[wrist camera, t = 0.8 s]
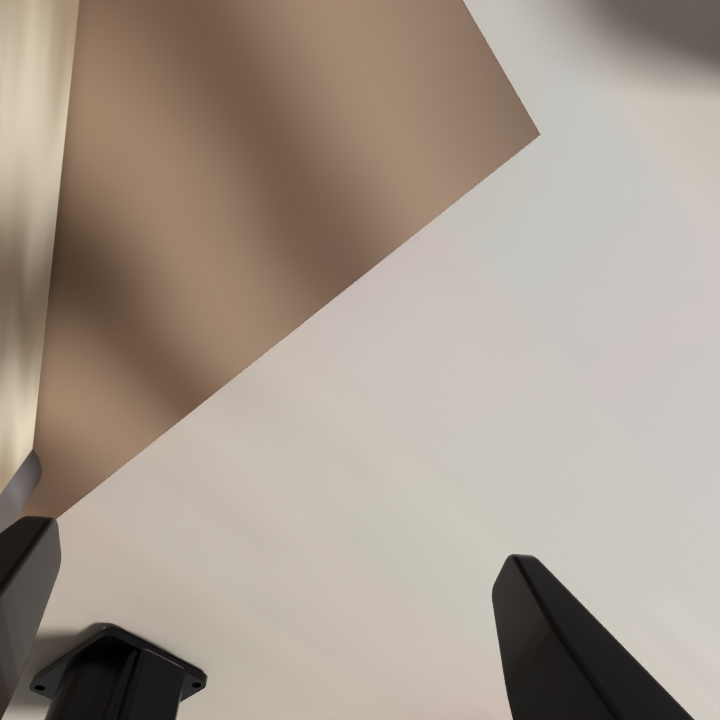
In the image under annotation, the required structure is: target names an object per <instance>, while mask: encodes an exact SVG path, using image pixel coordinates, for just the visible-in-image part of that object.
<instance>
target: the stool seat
mask: <svg viewBox="0 0 720 720" xmlns="http://www.w3.org/2000/svg"><path fill="white" fill-rule="evenodd" d="M539 135H540V133H539V131H538V130H537V128H536V126H535V124H534V123H533V121H532V119H531V118H530V116H529V114H528V112H527V111H526V109H525V107H524V105H523V104H522V102H521V100H520V99H519V97H518V95H517V93H516V92H515V90H514V88H513V86H512V85H511V83H510V81H509V80H508V78H507V76H506V74H505V73H504V71H503V69H502V67H501V66H500V64H499V62H498V60H497V59H496V57H495V55H494V54H493V52H492V50H491V48H490V47H489V45H488V43H487V41H486V40H485V38H484V36H483V35H482V33H481V31H480V29H479V28H478V26H477V24H476V22H475V21H474V19H473V17H472V16H471V14H470V12H469V10H468V9H467V7H466V5H465V3H464V2H463V0H79V8H78V18H77V27H76V37H75V46H74V56H73V65H72V75H71V85H70V94H69V104H68V113H67V123H66V133H65V142H64V152H63V161H62V171H61V180H60V190H59V200H58V209H57V219H56V228H55V238H54V248H53V257H52V267H51V276H50V286H49V295H48V305H47V315H46V324H45V334H44V343H43V353H42V362H41V372H40V382H39V391H38V401H37V410H36V420H35V430H34V439H33V450H34V452H35V453H36V454H37V456H38V458H39V460H40V463H41V468H42V474H41V479H40V481H39V483H38V484H37V486H36V488H35V489H34V491H33V492H32V494H31V495H30V497H29V499H28V500H27V502H26V503H25V505H24V506H23V508H22V509H21V511H20V513H19V514H18V516H17V517H16V519H15V520H14V522H15V521H17V520H18V519H20V518H22V517H24V516H28V515H32V516H45V517H52V518H55V519H57V518H58V517H59V516H60V515H62V514H63V513H64V512H66V511H67V510H68V509H69V508H71V507H72V506H73V505H74V504H76V503H77V502H78V501H79V500H81V499H82V498H83V497H84V496H86V495H87V494H88V493H89V492H91V491H92V490H93V489H95V488H96V487H97V486H98V485H100V484H101V483H102V482H103V481H105V480H106V479H107V478H108V477H110V476H111V475H112V474H113V473H115V472H116V471H117V470H118V469H120V468H121V467H122V466H123V465H125V464H126V463H127V462H129V461H130V460H131V459H132V458H134V457H135V456H136V455H137V454H139V453H140V452H141V451H142V450H144V449H145V448H146V447H147V446H149V445H150V444H151V443H152V442H154V441H155V440H156V439H158V438H159V437H160V436H161V435H163V434H164V433H165V432H166V431H168V430H169V429H170V428H171V427H173V426H174V425H175V424H176V423H178V422H179V421H180V420H181V419H183V418H184V417H185V416H186V415H188V414H189V413H190V412H192V411H193V410H194V409H195V408H197V407H198V406H199V405H200V404H202V403H203V402H204V401H205V400H207V399H208V398H209V397H210V396H212V395H213V394H214V393H215V392H217V391H218V390H219V389H220V388H222V387H223V386H224V385H226V384H227V383H228V382H229V381H231V380H232V379H233V378H234V377H236V376H237V375H238V374H239V373H241V372H242V371H243V370H244V369H246V368H247V367H248V366H249V365H251V364H252V363H253V362H255V361H256V360H257V359H258V358H260V357H261V356H262V355H263V354H265V353H266V352H267V351H268V350H270V349H271V348H272V347H273V346H275V345H276V344H277V343H278V342H280V341H281V340H282V339H283V338H285V337H286V336H287V335H289V334H290V333H291V332H292V331H294V330H295V329H296V328H297V327H299V326H300V325H301V324H302V323H304V322H305V321H306V320H307V319H309V318H310V317H311V316H312V315H314V314H315V313H316V312H318V311H319V310H320V309H321V308H323V307H324V306H325V305H326V304H328V303H329V302H330V301H331V300H333V299H334V298H335V297H336V296H338V295H339V294H340V293H341V292H343V291H344V290H345V289H346V288H348V287H349V286H350V285H352V284H353V283H354V282H355V281H357V280H358V279H359V278H360V277H362V276H363V275H364V274H365V273H367V272H368V271H369V270H370V269H372V268H373V267H374V266H375V265H377V264H378V263H379V262H381V261H382V260H383V259H384V258H386V257H387V256H388V255H389V254H391V253H392V252H393V251H394V250H396V249H397V248H398V247H399V246H401V245H402V244H403V243H404V242H406V241H407V240H408V239H409V238H411V237H412V236H413V235H415V234H416V233H417V232H418V231H420V230H421V229H422V228H423V227H425V226H426V225H427V224H428V223H430V222H431V221H432V220H433V219H435V218H436V217H437V216H438V215H440V214H441V213H442V212H443V211H445V210H446V209H447V208H449V207H450V206H451V205H452V204H454V203H455V202H456V201H457V200H459V199H460V198H461V197H462V196H464V195H465V194H466V193H467V192H469V191H470V190H471V189H472V188H474V187H475V186H476V185H478V184H479V183H480V182H481V181H483V180H484V179H485V178H486V177H488V176H489V175H490V174H491V173H493V172H494V171H495V170H496V169H498V168H499V167H500V166H501V165H503V164H504V163H505V162H506V161H508V160H509V159H510V158H512V157H513V156H514V155H515V154H517V153H518V152H519V151H520V150H522V149H523V148H524V147H525V146H527V145H528V144H529V143H530V142H532V141H533V140H534V139H535V138H537V137H538V136H539ZM14 522H13V523H14Z"/></svg>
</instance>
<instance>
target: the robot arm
mask: <svg viewBox="0 0 720 720" xmlns="http://www.w3.org/2000/svg"><path fill="white" fill-rule="evenodd" d="M60 564H61V548H60V539H59V530H58V523H57V521H56V519H55V518H52V517H45V516H32V515H28V516H24V517H22V518H20V519H18V520H17V521H15V522H14V523H13V524H11V525H10V526H9V527H7V528H6V529H4V530H3V531H2V532H0V720H1V719H2V717H3V715H4V713H5V711H6V709H7V706H8V704H9V702H10V700H11V698H12V696H13V693H14V691H15V689H16V687H17V685H18V682H19V680H20V677H21V675H22V672H23V669H24V667H25V664H26V661H27V659H28V656H29V653H30V650H31V647H32V645H33V642H34V639H35V636H36V633H37V631H38V628H39V625H40V622H41V620H42V617H43V614H44V611H45V608H46V606H47V603H48V600H49V597H50V594H51V592H52V589H53V586H54V583H55V581H56V578H57V575H58V572H59V568H60ZM492 602H493V609H494V615H495V622H496V628H497V635H498V641H499V647H500V654H501V660H502V667H503V673H504V679H505V685H506V691H507V696H508V701H509V705H510V709H511V713H512V717H513V720H694V719H693V718H692V717H691V716H690V715H689V714H688V712H687V711H686V710H685V709H684V708H683V707H682V706H681V705H680V704H679V703H678V702H677V701H676V700H675V699H674V698H673V697H672V696H671V695H670V694H669V693H668V692H667V691H666V690H665V689H664V688H663V687H662V686H661V685H660V684H659V683H658V682H657V681H656V680H655V679H654V678H653V677H652V676H651V675H650V674H649V672H648V671H647V670H646V669H645V668H644V667H643V666H642V665H641V664H640V663H639V662H638V661H637V660H636V659H635V658H634V657H633V656H632V655H631V654H630V653H629V652H628V651H627V650H626V649H625V648H624V647H623V646H622V645H621V644H620V643H619V642H618V641H617V640H616V639H615V638H614V637H613V636H612V635H611V633H610V632H609V631H608V630H607V629H606V628H605V627H604V626H603V625H602V624H601V623H600V622H599V621H598V620H597V619H596V618H595V617H594V616H593V615H592V614H591V613H590V612H589V611H588V610H587V609H586V608H585V607H584V606H583V605H582V604H581V603H580V602H579V601H578V600H577V599H576V598H575V597H574V596H573V595H572V593H571V592H570V591H569V590H568V589H567V588H566V587H565V586H564V585H563V584H562V583H561V582H560V581H559V580H558V579H557V578H556V577H555V576H554V575H553V574H552V573H551V572H550V571H549V570H548V569H547V568H546V567H545V566H544V565H543V564H542V563H541V562H540V561H539V560H538V559H537V558H536V557H534V556H531V555H520V554H511V555H510V556H508V557H507V559H506V561H505V563H504V565H503V567H502V569H501V571H500V573H499V575H498V577H497V579H496V581H495V583H494V585H493V589H492ZM206 682H207V675H206V674H204V673H202V672H200V671H199V670H197V669H195V668H193V667H191V666H189V665H187V664H185V663H183V662H181V661H179V660H177V659H175V658H173V657H171V656H169V655H168V654H166V653H164V652H162V651H160V650H158V649H156V648H154V647H152V646H150V645H148V644H146V643H144V642H142V641H140V640H138V639H136V638H135V637H133V636H131V635H129V634H127V633H125V632H123V631H121V630H119V629H116V628H106V629H104V630H102V631H101V632H99V633H98V634H96V635H95V636H93V637H92V638H90V639H89V640H87V641H86V642H84V643H83V644H81V645H80V646H79V647H77V648H76V649H74V650H73V651H71V652H70V653H68V654H67V655H65V656H64V657H62V658H61V659H59V660H58V661H56V662H55V663H53V664H52V665H50V666H49V667H47V668H46V669H45V670H43V671H42V672H40V673H39V674H37V675H36V676H34V677H33V679H32V682H31V684H30V686H29V688H30V689H31V690H32V691H33V692H35V693H38V694H40V695H43V696H45V697H47V698H50V699H52V702H51V704H50V707H49V709H48V712H47V714H46V717H45V719H44V720H176V718H177V713H178V708H179V703H180V702H181V701H183V700H185V699H186V698H188V697H190V696H192V695H193V694H195V693H197V692H198V691H200V690H202V689H204V688H205V687H206Z"/></svg>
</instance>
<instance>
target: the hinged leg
mask: <svg viewBox="0 0 720 720" xmlns="http://www.w3.org/2000/svg"><path fill="white" fill-rule="evenodd" d="M78 8H79V0H0V532H2V531H3V530H4V529H6V528H7V527H9V526H10V525H11V524H13V522H14V520H15V519H16V517H17V516H18V514H19V513H20V511H21V509H22V508H23V506H24V505H25V503H26V502H27V500H28V499H29V497H30V495H31V494H32V492H33V491H34V489H35V488H36V486H37V484H38V483H39V481H40V479H41V474H42V468H41V463H40V460H39V458H38V456H37V454H36V453H35V452H34V450H33V439H34V430H35V420H36V410H37V401H38V391H39V382H40V372H41V362H42V353H43V343H44V334H45V324H46V315H47V305H48V295H49V286H50V276H51V267H52V257H53V248H54V238H55V228H56V219H57V209H58V200H59V190H60V180H61V171H62V161H63V152H64V142H65V133H66V123H67V113H68V104H69V94H70V85H71V75H72V65H73V56H74V46H75V37H76V27H77V18H78Z"/></svg>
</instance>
